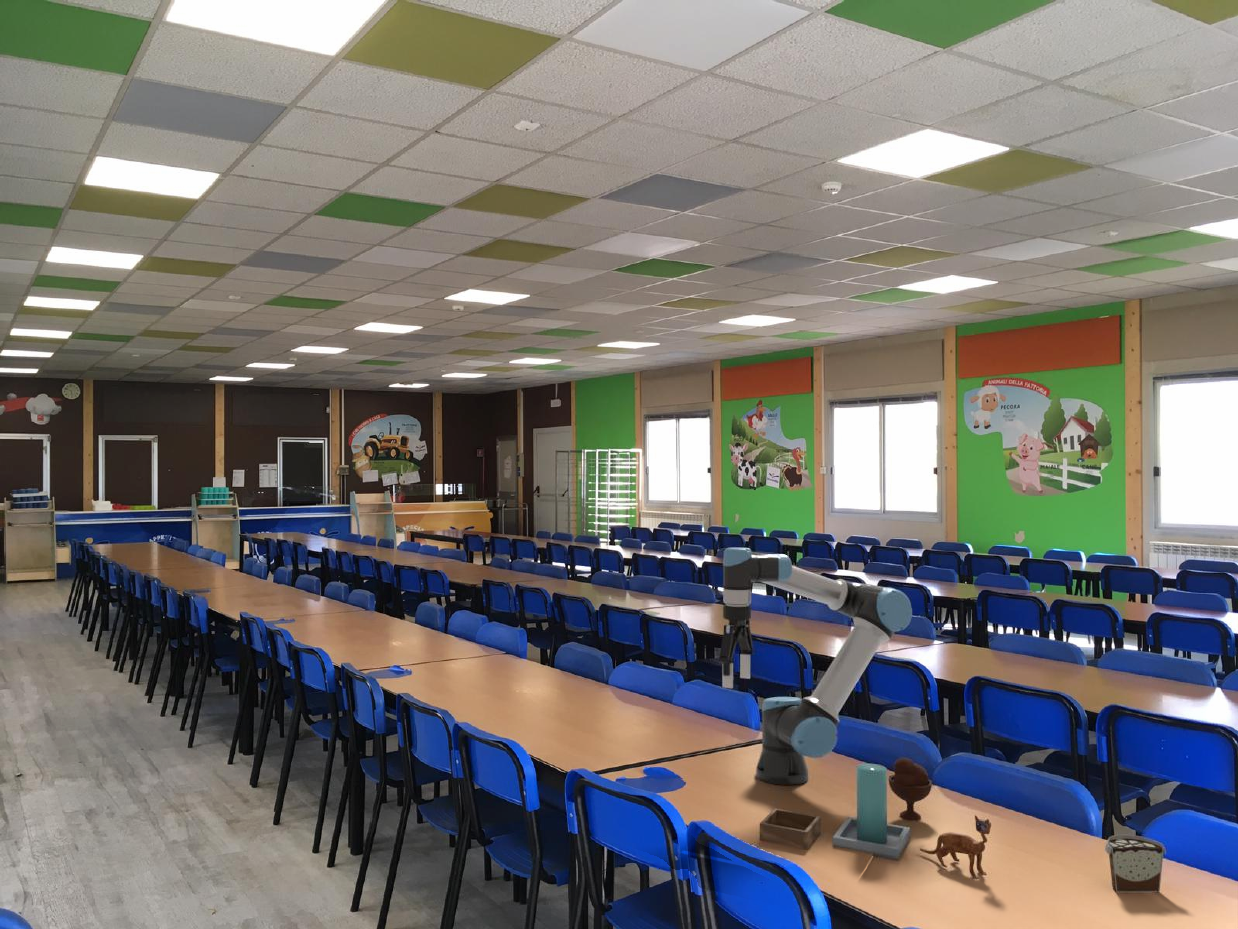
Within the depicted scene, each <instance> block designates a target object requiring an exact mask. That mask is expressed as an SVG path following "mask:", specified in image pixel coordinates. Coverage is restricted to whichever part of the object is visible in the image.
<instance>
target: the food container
mask: <svg viewBox="0 0 1238 929" xmlns="http://www.w3.org/2000/svg"><path fill="white" fill-rule="evenodd" d="M1164 845H1165V844H1163V843H1161V842H1159V841H1157V840H1154V839H1151V838H1148V837H1144V836H1139V835H1133V834H1132V835H1131V834H1115V835H1111V836H1109V837H1108V839H1107V840H1106V843H1105V847H1104V850H1105V852H1106V853H1107V855H1108V857H1109V868H1110V875H1111V886H1112V887H1113V888H1112V890H1113V891H1114V892H1115V893H1117V894H1118V892H1119V893H1120V894H1121V892H1122V893H1124V892H1130V893H1158V892H1157V891H1160V890H1161V882H1162V870H1163V862H1164V861H1163V860H1164V855H1167V850H1166V847H1165V846H1164ZM1155 891H1156V892H1155ZM1160 892H1161V891H1160Z"/></svg>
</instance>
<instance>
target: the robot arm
mask: <svg viewBox="0 0 1238 929" xmlns="http://www.w3.org/2000/svg"><path fill="white" fill-rule="evenodd" d="M722 567H723V568H722V569H723V572H722V573H723V587H722V589H723V590H722V592H721V594H722V596H723V597H722V598H723V603H724V605H723V606H722V617H723V619H725V620H728V624H724V626H723V633H722V634H723V635H722V638H721V639H722V641H721V646H720V652H719V656H718V657H719V658H718V663H719V664H722V668H721V669H722V671H721V672H722V673H721V674H722V677H721V678H722V681H721V682H722V688H725V689H733V688H734V662H732V661H733V657H734V654H735V650H736V647H737V644H738V645H739V648H740V651H741V653H740V655H739V658H740V659H739V665H740V667H739V669H740V670H739V673H740V674H739V675H740V676H739V678H740V679H748V680H750V679H751V655H754V653H755V651H754V644H753V643H754V642H753V639H752V633H751V628H750V627H751V624H750V623H751V622H750V620H751V618H752V606H751V605H750V604H752V583H763V584H766V585H769V586H772V587H776V588H777V589H781V590H784V591H787V592H790V593H792V594H796V595H798V596H802V597H804V598H808V599H810V600H812V601H813V600H814V601H817V602H819V603H822V604H825V605H827V606H828V608H829V609H830V610H831V611H835V612H838V613H839V614H843V615H845V616H847V617H850V618H851V619H852V621H853V625H854V626H853V628H852V630H851V631H850V633H849V635H848V636H847V637H846V639H845V641H844V643H843V644H842V646H840V647H841V648H840V649H839V651H838V652H837V654H836V655H835V657H834V659H833V660H832V662H831V663H830V665H829V667H828V668H827V670H826V671H825V674H824V675H823V676H822V678H821V680H820V681H819V682H818V683H817V685H816V687H815V689H814V691H813V692H812V693H811V694H810V696H805V697H803V698H800V697H797V696H795V697H794V696H793V697H792V696H775V697H769V698H768V697H767V698H765V699H764V700H763V702H762V707H761V708H762V709H761V715H762V716H761V720H762V722H761V724H762V726H761V728H762V729H761V733H762V734H761V737H762V738H761V740H762V742H761V743H762V744H761V745H762V746H761V748H762V749H761V752H760V755H759V758H758V761H757V764H756V768H755V777H756V778H757V779H759V780H760V781H763V782H765V783H769V784H773V785H780V786H781V785H782V786H784V785H785V786H793V785H800V784H804V783H806V782H807V781H808V780H809V768H808V765H807V762H806V759H805V757H808V758H811V759H819V758H823V757H825V756H827V755H828V754H830V753H831V752H832V750H833V749H834V748H835V747H836V745H837V742H838V735H837V734H838V729H837V728H838V727H837V726H838V725H839V724H840V717H839V713H840V711H841V709H842V708H843V706H844V705H845V704H846V701H847V700H848V698H849V696H850V695H851V693H852V691H853V690H854V688H855V687H856V684H857V683H858V681H859V680H860V678H861V677H862V675H863V673H864V672H865V671H866V668H868V665H869V663H870V662H871V660H872V659H873V657H874V655H876V654H875V653H876V652H877V651H878V649H879V647H880V646H881V644H882V643H885V642H889V641H890V640H891V638H892V637H893V635H894V633H895V632H900V631H903V630H905V629H906V628H907V627H908V626H909V624H910V623H911V620H912V617H913V608H912V604H911V601H910V599H909V597H908V596H907V594H906V593H904V592H903V591H901V590H899V589H896V588H894V587H891V586H890V587H889V586H888V587H885V586H881V585H874V584H870V583H860V582H853V581H848V580H845V579H843V578H839V579H838V578H837V579H831V578H828V577H826V576H823V575H820V574H817V573H815V572H811V571H809V570H805V569H803V568H800V567H797V566H794V565H793V564H792V560H791V558H790V557H789V556H788V555H786V554H782V553H781V554H779V553H776V554H774V553H773V554H771V553H763V552H757V551H756V552H755V551H752V549H751V548H749V547H727V548H725V550H723V562H722Z"/></svg>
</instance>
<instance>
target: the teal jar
mask: <svg viewBox="0 0 1238 929" xmlns="http://www.w3.org/2000/svg"><path fill="white" fill-rule="evenodd" d="M856 818H857V839H858V840H861V841H867V842H872V843H877V844H885V843H887V824H888V768H887V767H885V766H884V765H882V764H875V763H861V764H858V765H856Z"/></svg>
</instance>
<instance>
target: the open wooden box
mask: <svg viewBox="0 0 1238 929" xmlns="http://www.w3.org/2000/svg"><path fill="white" fill-rule="evenodd" d="M820 834H821V816H820V815H814V814H809V813H802V812H798V811H791V810H787V809H781V808H774V809H773V810H771V812H769V814H767V815H766V817H764V818H763V820H761V821H760V822H759V841H763V842H768V843H773V844H778V845H782V846H787V847H793V848H798V849H803V850H808V849H809V848H810V847H811V845H812V844H813V843H814V841H815V840H816V839H817V838H818V837H819V835H820Z"/></svg>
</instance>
